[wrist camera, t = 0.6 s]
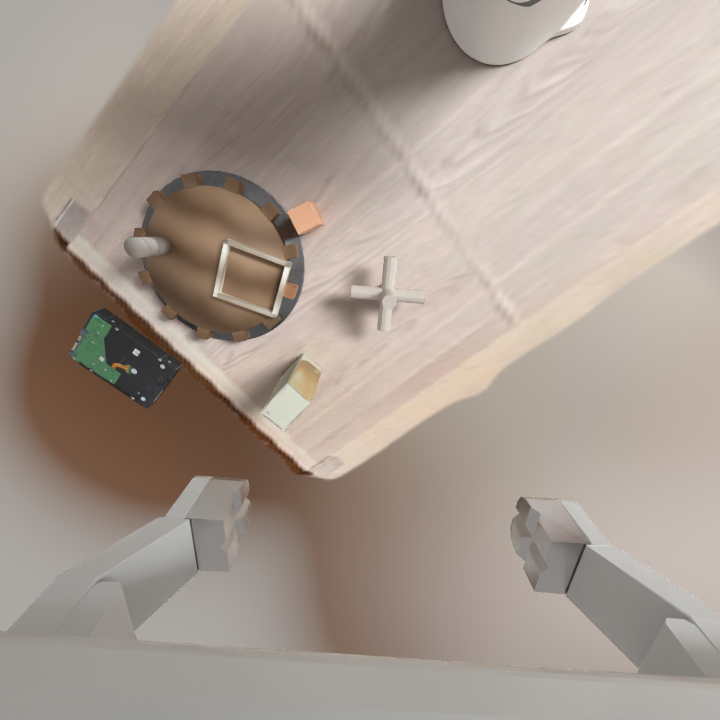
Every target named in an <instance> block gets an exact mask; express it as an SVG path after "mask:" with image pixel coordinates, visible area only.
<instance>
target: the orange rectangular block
mask: <svg viewBox="0 0 720 720" xmlns="http://www.w3.org/2000/svg"><path fill="white" fill-rule="evenodd" d="M287 212H288V214H289V216H290V218H291V220H292V222H293V225H294V227H295V229H296V231H297V233H298V235H299V234H306V233H308V232H310V231H312V230H314V229H316V228H318V227H320V226H322V225H324V223H323V221H322V219H321V217H320V214H319V212H318V210H317V208H316V206H315V204H314V203H312V202H310V201H306V202H304V203H303V204H301V205H299V206H297V207H295V208H293V209H291V210H289V211H287Z"/></svg>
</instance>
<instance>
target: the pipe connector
mask: <svg viewBox="0 0 720 720" xmlns="http://www.w3.org/2000/svg"><path fill="white" fill-rule="evenodd" d="M397 263H398V257H394V256H384V265H383V276H382V285H381V287H371V286H358V285H352V288H351V298H354V299H367V300H380V307H379V318H378V328H377V329H378V330H380V331H390V327H391V318H392V309H393V308H394V307H395V306H396V304H397V302H406V303H418V304H424V301H425V291H423V290H410V289H397V288H395V281H396V272H397Z"/></svg>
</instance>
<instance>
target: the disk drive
mask: <svg viewBox="0 0 720 720" xmlns="http://www.w3.org/2000/svg"><path fill="white" fill-rule="evenodd" d="M79 335H80V336H79V337H78V339H77V340H78V341H76V342H75V344H74V346H73V348H72V351H71V352H70V351H69V355H71V356H73V357H72V358H73V359H74V360H76V361H77V362H78V363H79V364H80V365H81V366H83V367H84V368H86V369H88V370H89V371H91V372H92V373H94V374H95V375H97V376H98V377H100V378H101V379H103V380H104V381H106V382H107V383H109V384H110V385H112V386H113V387H115V388H116V389H118V390H119V391H121V392H122V393H124V394H125V395H127V396H128V397H130V398H131V399H133V400H134V401H135V402H137V403H139V404H140V405H142V406H144V407H145V408H149V407H150V406H151V405H153V404H154V403H155V402H156V400H157V399H158V398H159V396H160V395H161V394H162V393H163V391H164V390H165V388H166V387H167V386H168V385H169V383H170V382H171V380H172V379H173V378H174V376H175V375H176V374H177V372H178V371H179V369H180V368H181V367H182V366H183V364H181V363H180V362H178V361H177V360H176V359H175V358H174V357H172V356H171V355H169V354H167V353H166V352H165V351H163V350H162V349H161V348H160V347H158V346H157V345H156V344H155V343H154V342H152V341H151V340H149V339H148V338H146V337H145V336H143V335H142V334H141V333H140V332H138V331H137V330H135V329H134V328H133V327H131V326H130V325H128V324H127V323H126V322H124V321H123V320H121V319H120V318H119V317H117V316H116V315H114V314H113V313H111V312H110V311H108V310H107V309H106V308H103V309H99V310H96V311H93V312H92V314H91V315H90V317H89V319H88V321H87V322H86V324H85V326H84V327H83V329H82V330H81V332H80V334H79Z"/></svg>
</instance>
